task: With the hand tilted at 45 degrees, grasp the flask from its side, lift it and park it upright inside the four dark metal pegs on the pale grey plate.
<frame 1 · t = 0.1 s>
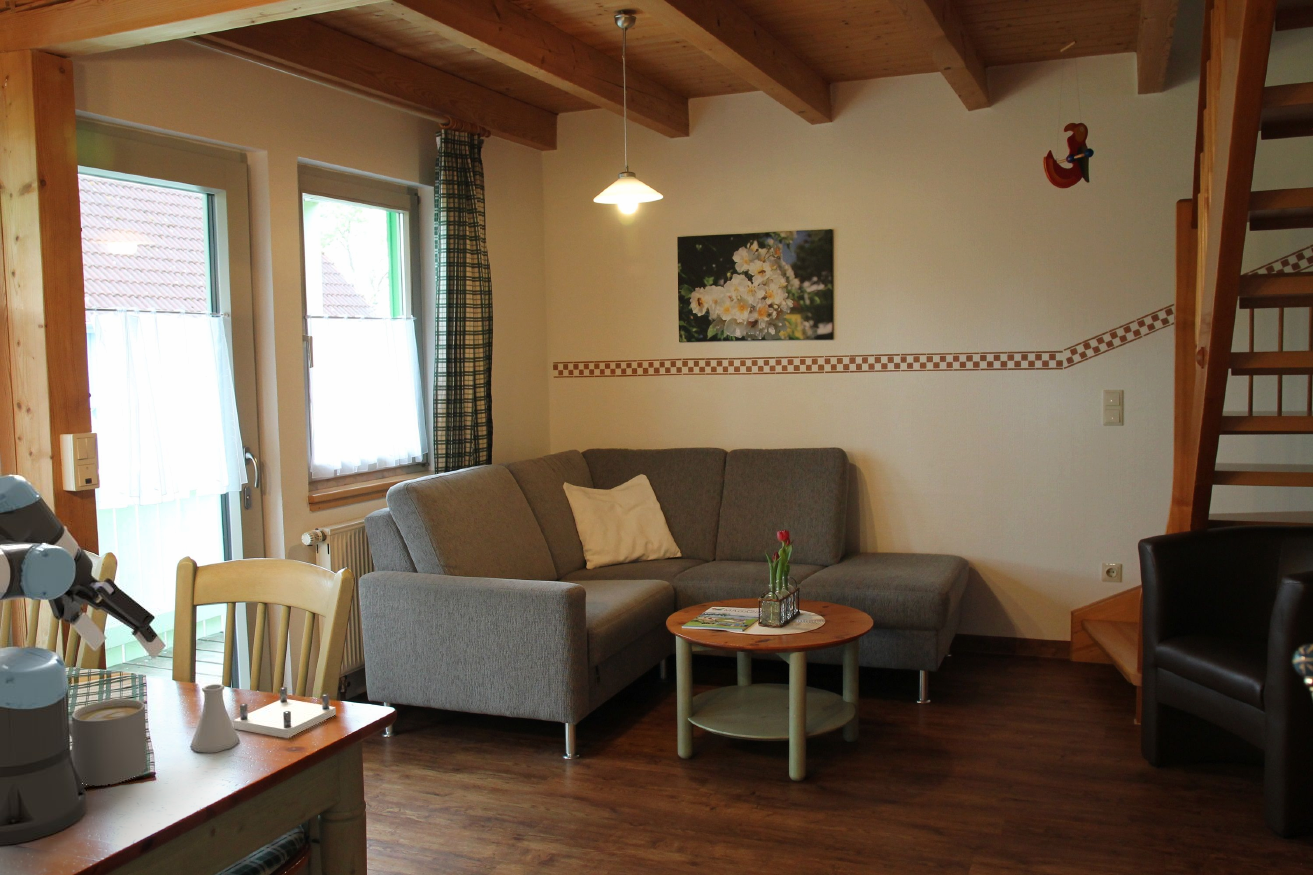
hand: (129, 647, 171), 15 cm above the table, tool tilted 35°, fingers open, 13 cm apart
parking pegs: (285, 706, 179), on the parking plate, point 2 cm above the table
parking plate: (285, 721, 179), on the table
flask: (215, 746, 169), on the table
coffee mug: (100, 773, 158), on the table
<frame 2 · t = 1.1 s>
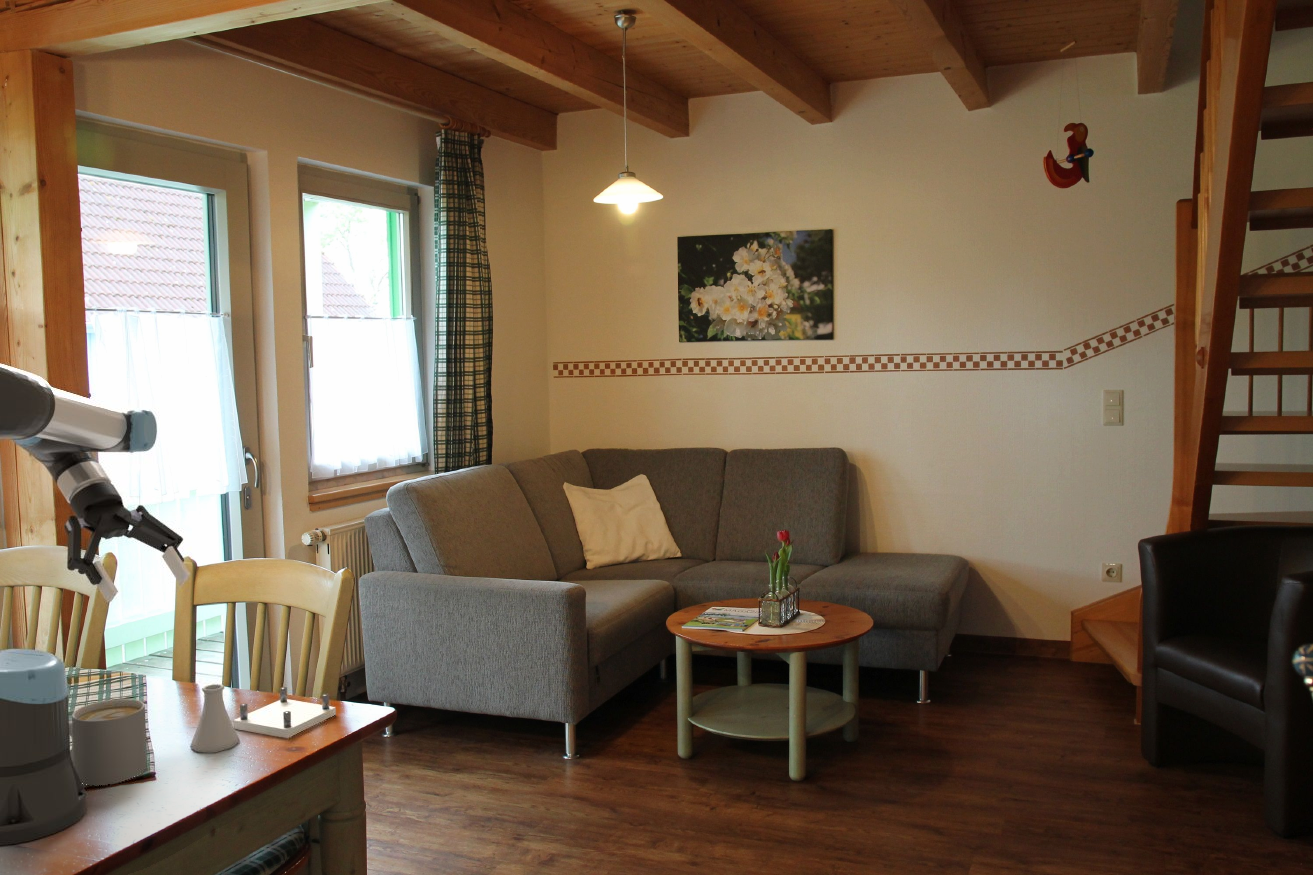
hand: (150, 588, 173), 25 cm above the table, tool tilted 45°, fingers open, 13 cm apart
nothing on the table moved.
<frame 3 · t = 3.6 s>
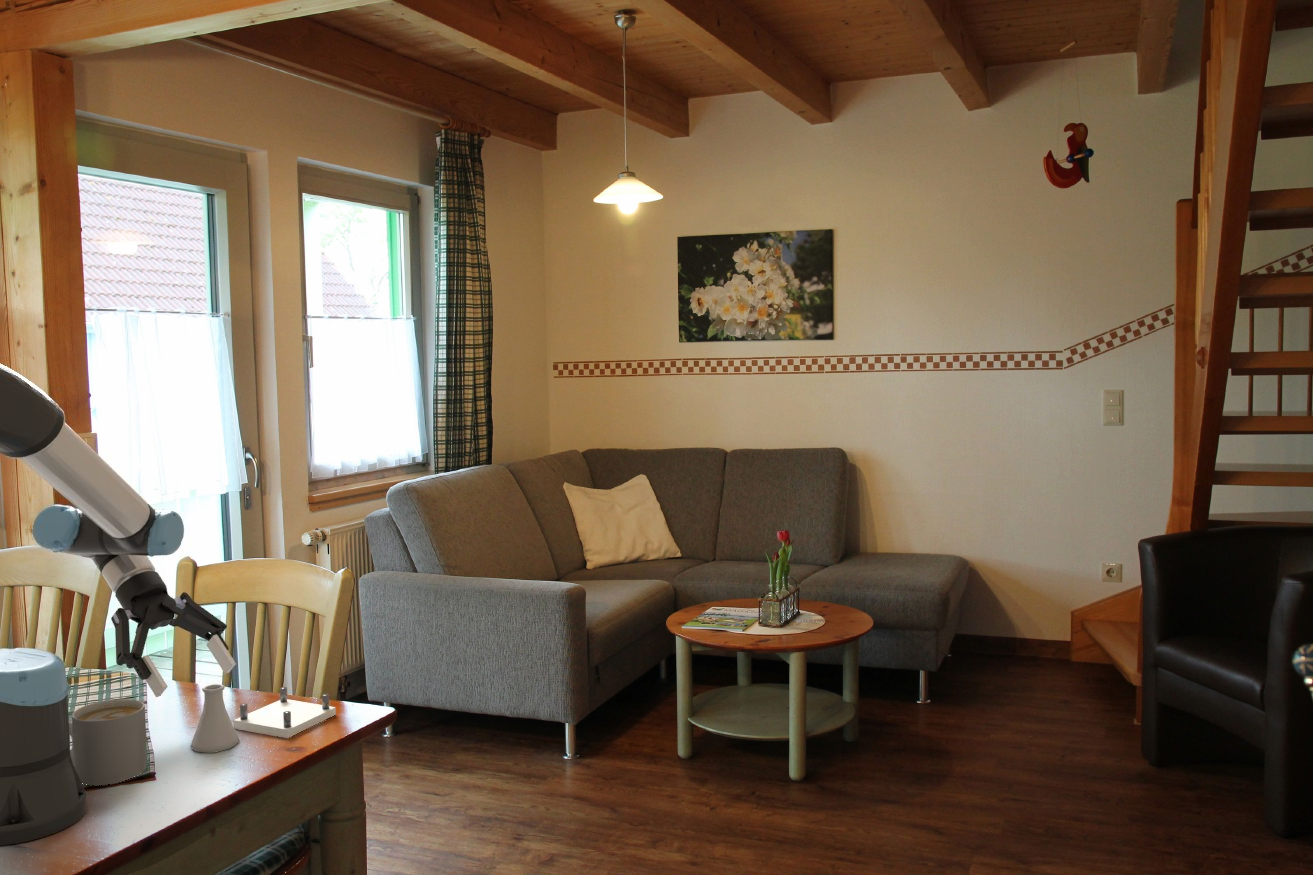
hand: (197, 680, 172), 10 cm above the table, tool tilted 45°, fingers open, 13 cm apart
nothing on the table moved.
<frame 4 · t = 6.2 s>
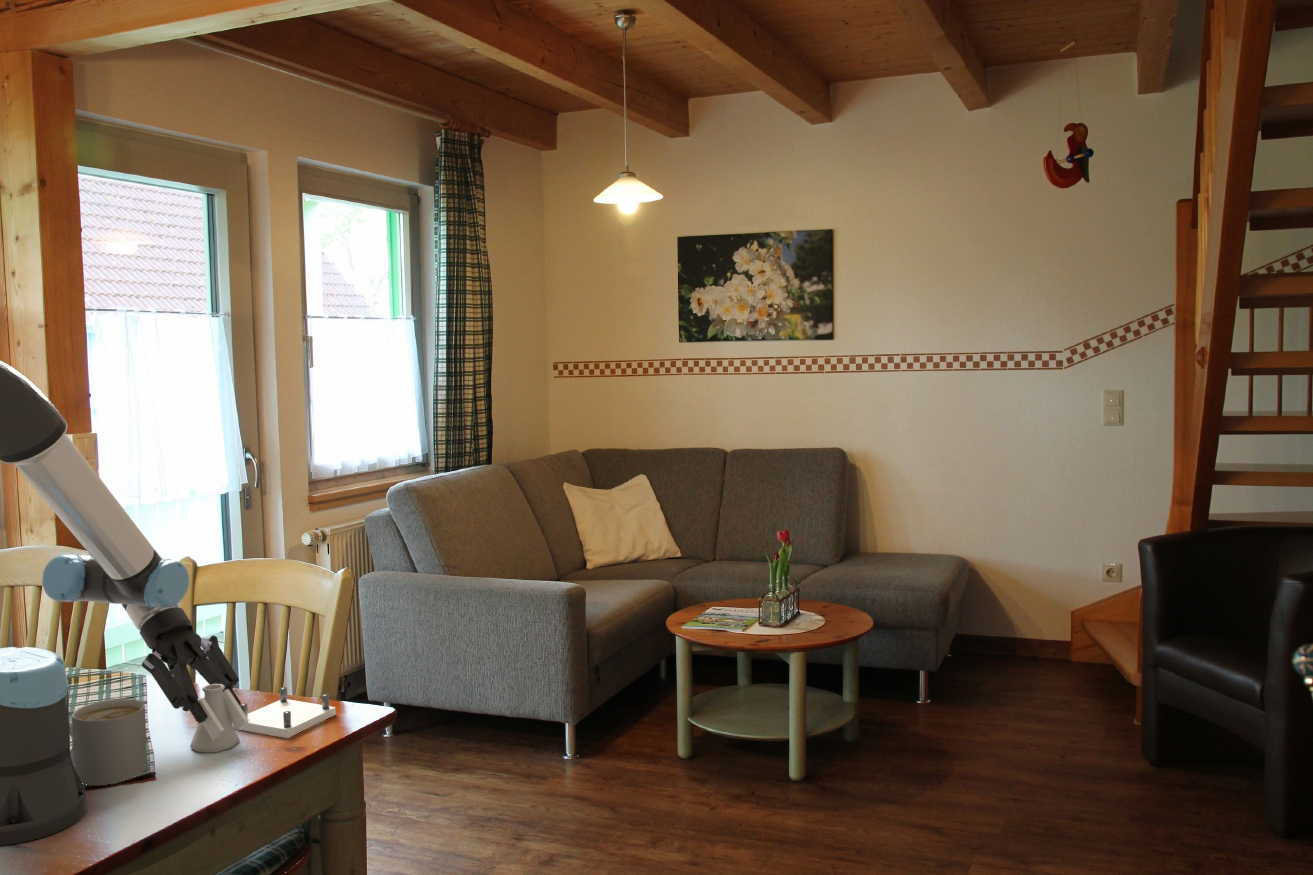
hand: (230, 729, 167), 3 cm above the table, tool tilted 45°, fingers closed on flask, 4 cm apart
flask: (215, 746, 169), on the table, touching gripper
everything else where it was.
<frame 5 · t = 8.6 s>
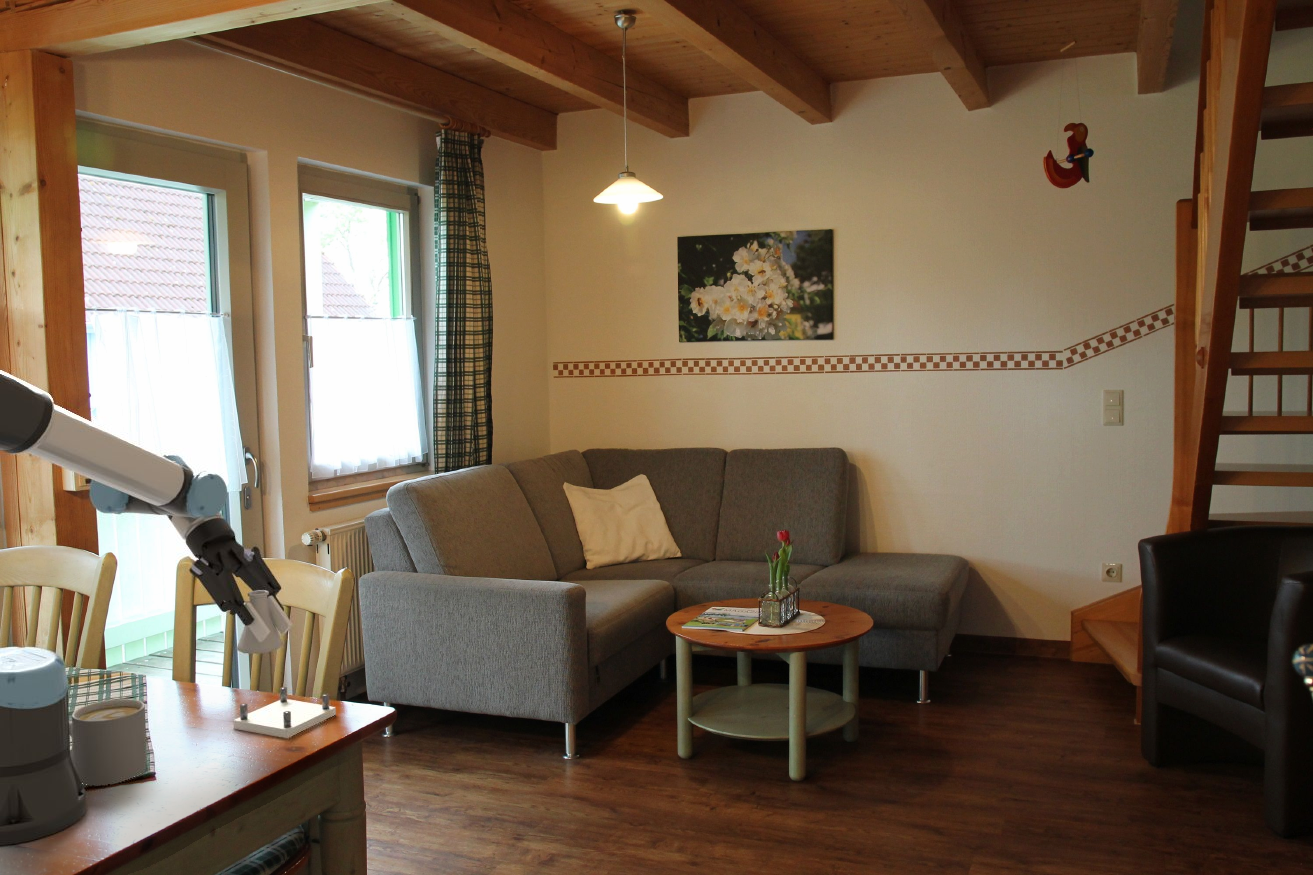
hand: (275, 633, 173), 17 cm above the table, tool tilted 45°, fingers closed on flask, 4 cm apart
flask: (260, 650, 175), point 14 cm above the table, touching gripper
everything else where it was.
when the fingers open (6 cm above the table, at t = 11.0 s): flask drops 1 cm, resting on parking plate.
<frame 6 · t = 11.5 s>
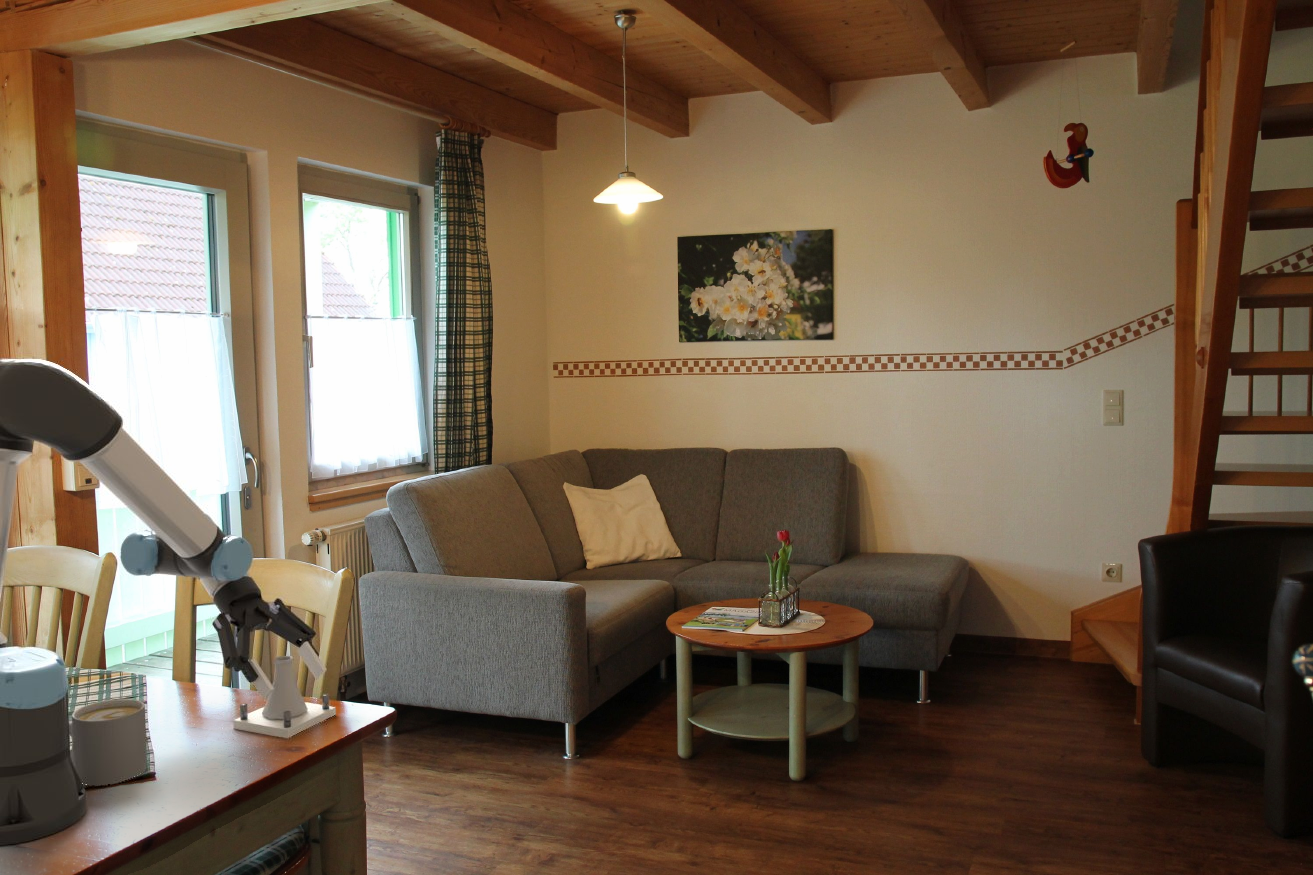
hand: (296, 684, 177), 7 cm above the table, tool tilted 45°, fingers open, 11 cm apart
flask: (285, 714, 179), point 1 cm above the table, touching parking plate
everything else where it was.
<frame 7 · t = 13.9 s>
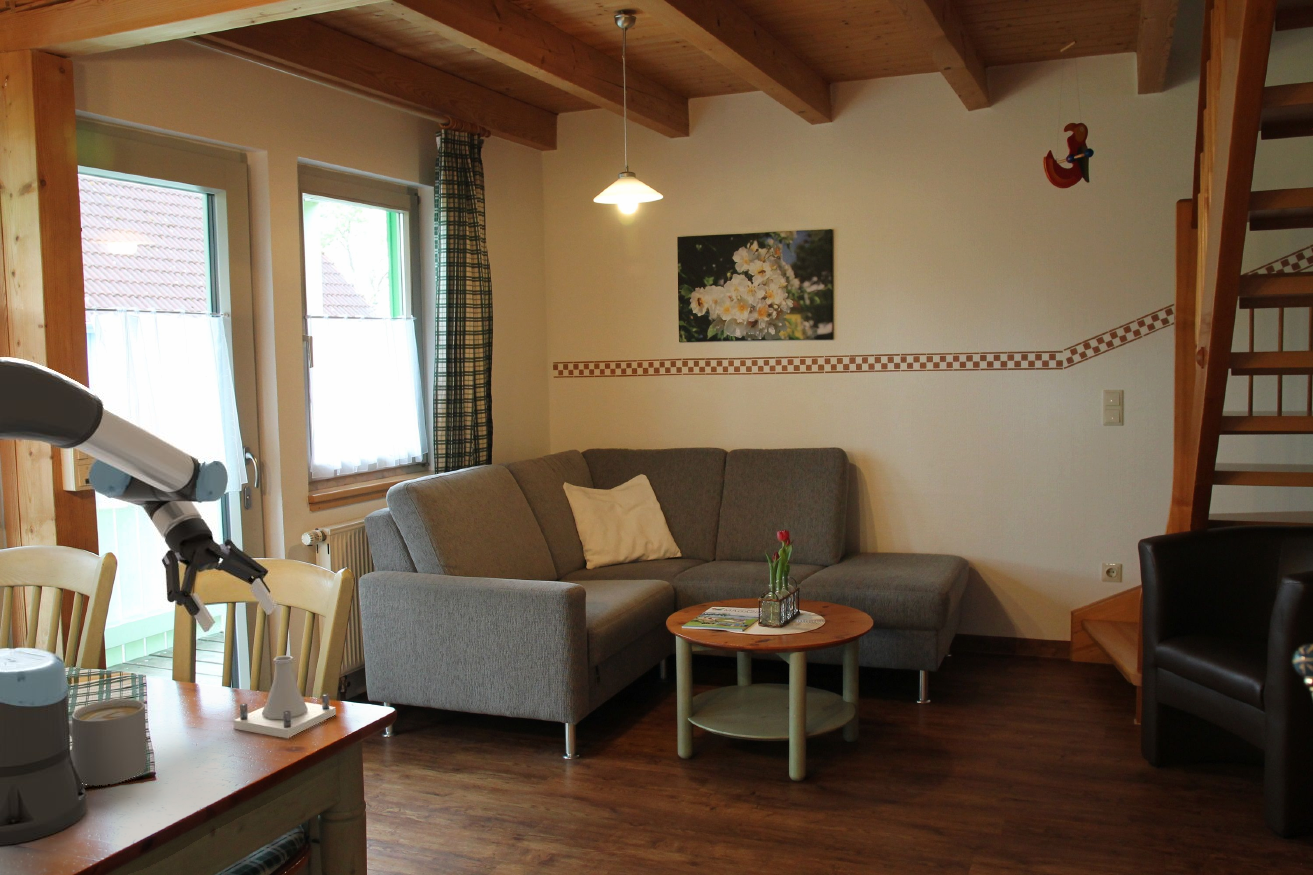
hand: (242, 618, 183), 17 cm above the table, tool tilted 45°, fingers open, 13 cm apart
nothing on the table moved.
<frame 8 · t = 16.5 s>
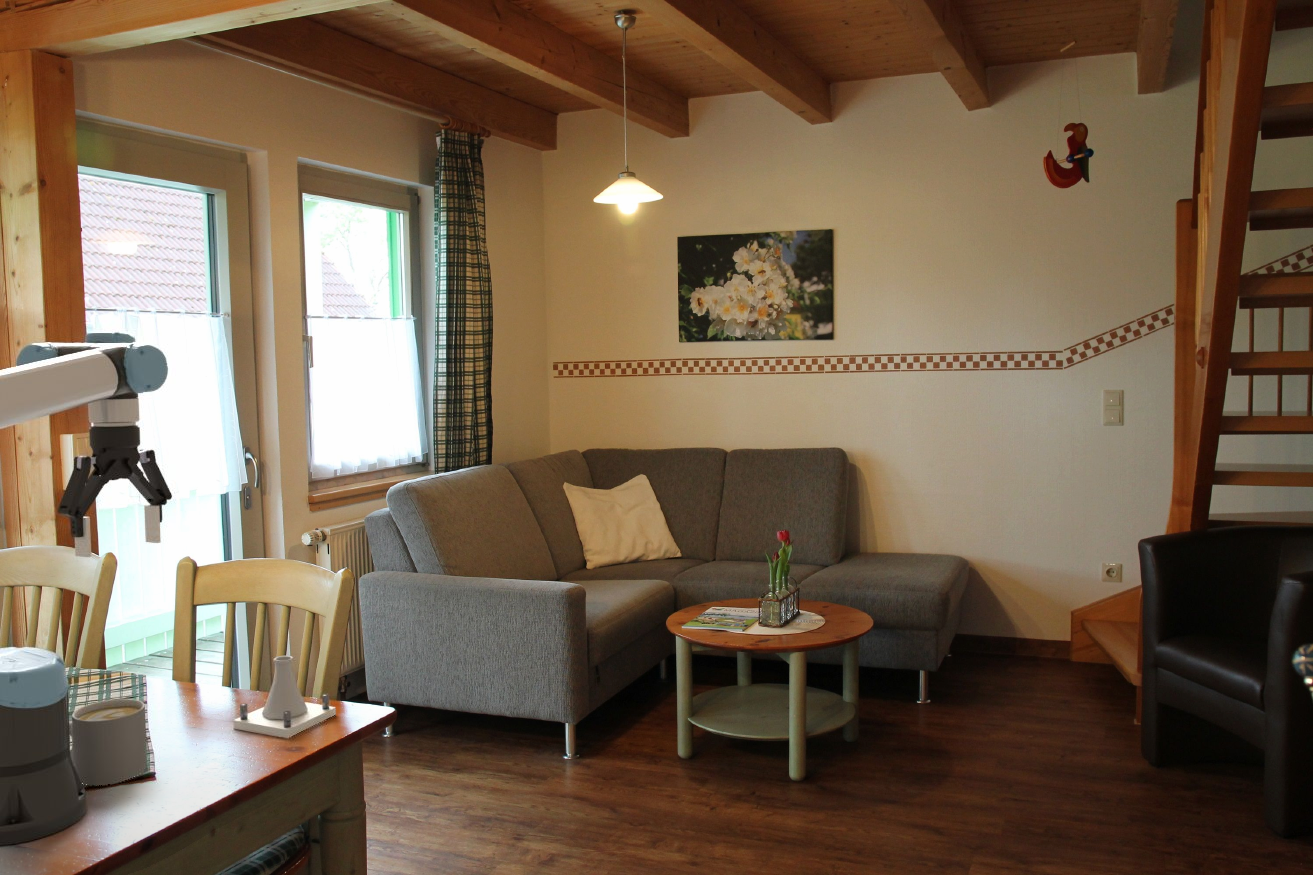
hand: (119, 549, 172), 32 cm above the table, tool pointing down, fingers open, 13 cm apart
nothing on the table moved.
at the end: flask 0.1 cm off-centre on the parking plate, point 1.3 cm above the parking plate's base; flask tilted 0°; the gripper is holding nothing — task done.
